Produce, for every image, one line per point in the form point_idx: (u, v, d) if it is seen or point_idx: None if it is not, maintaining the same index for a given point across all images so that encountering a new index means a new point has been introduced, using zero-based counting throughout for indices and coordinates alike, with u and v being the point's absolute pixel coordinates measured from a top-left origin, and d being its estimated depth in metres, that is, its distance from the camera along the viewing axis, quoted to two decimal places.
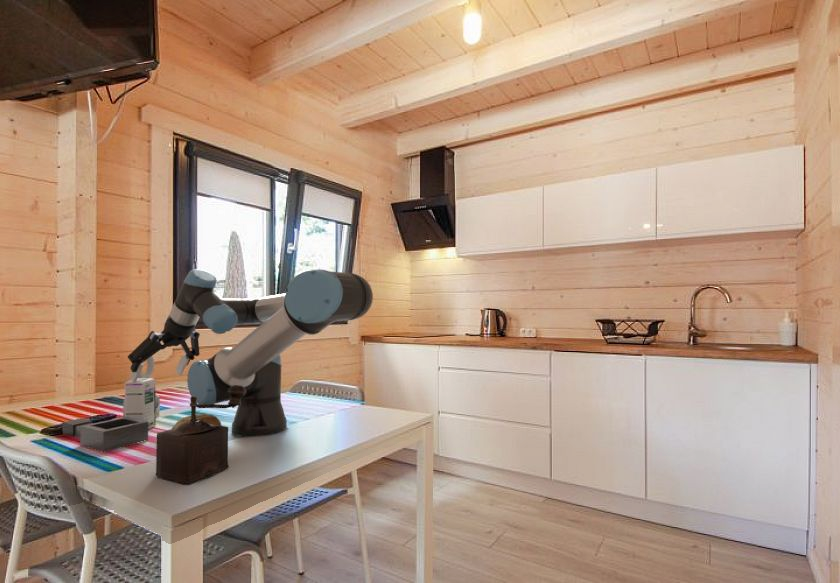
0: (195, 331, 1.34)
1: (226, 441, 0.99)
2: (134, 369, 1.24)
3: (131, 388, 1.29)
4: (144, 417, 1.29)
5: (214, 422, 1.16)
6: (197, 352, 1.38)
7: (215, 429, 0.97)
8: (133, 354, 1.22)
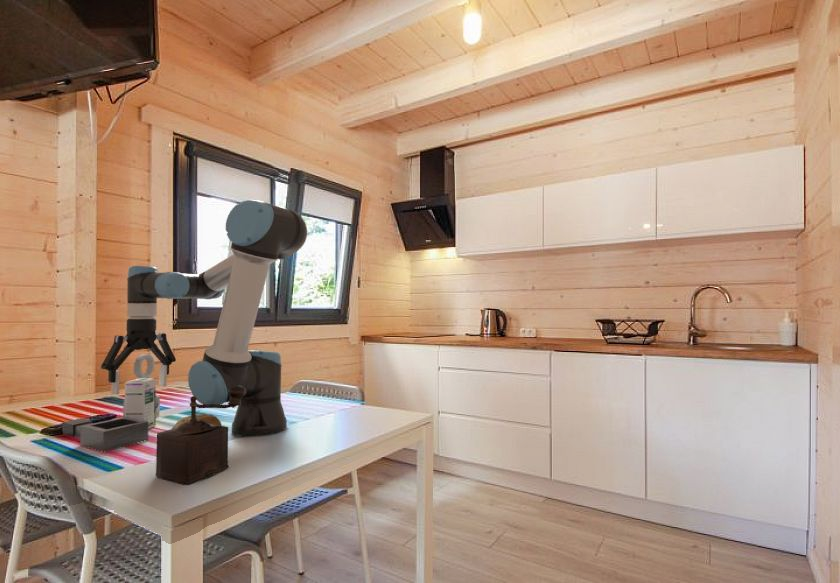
0: (161, 333, 1.37)
1: (226, 441, 0.99)
2: (112, 379, 1.25)
3: (131, 388, 1.29)
4: (144, 417, 1.29)
5: (214, 422, 1.16)
6: (172, 357, 1.40)
7: (215, 429, 0.97)
8: (105, 362, 1.24)
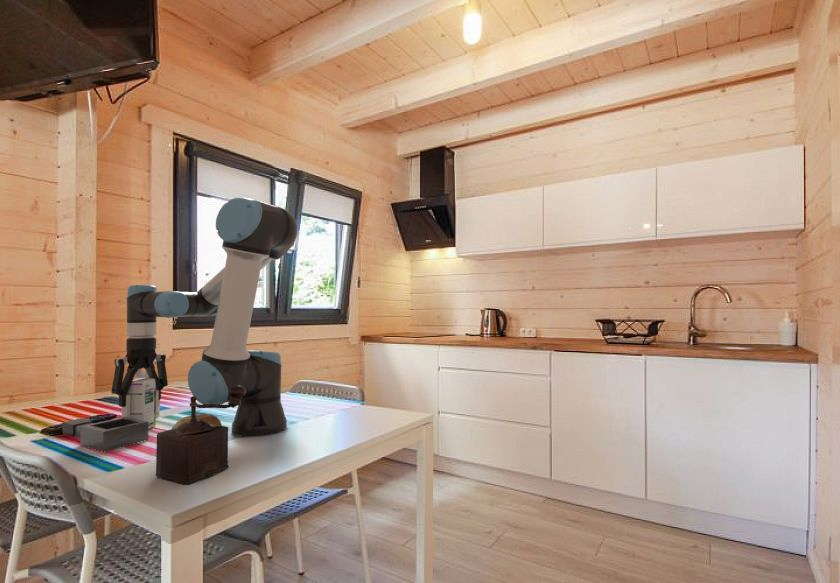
0: (161, 354, 1.37)
1: (226, 441, 0.99)
2: (122, 403, 1.27)
3: (131, 388, 1.29)
4: (144, 417, 1.29)
5: (214, 422, 1.16)
6: (165, 381, 1.37)
7: (215, 429, 0.97)
8: (114, 387, 1.26)
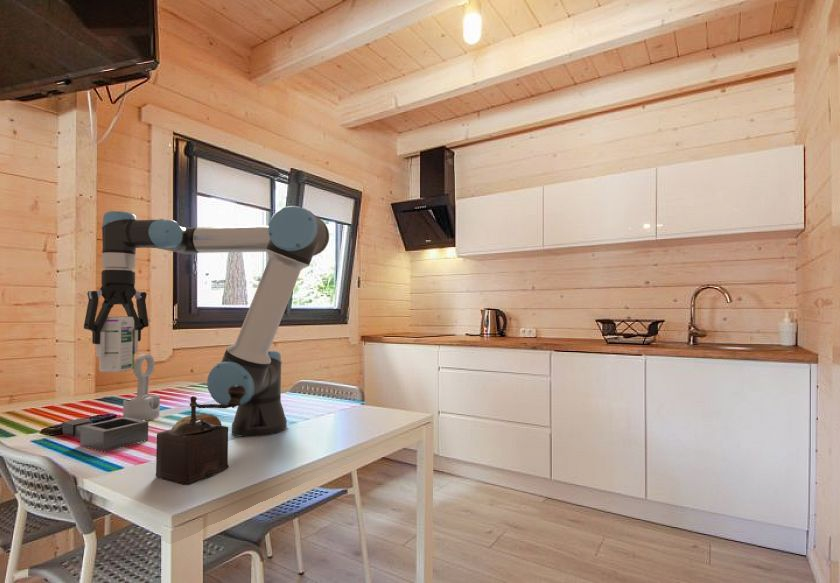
0: (141, 292, 1.25)
1: (226, 441, 0.99)
2: (96, 340, 1.14)
3: (106, 324, 1.17)
4: (120, 357, 1.17)
5: (215, 422, 1.16)
6: (145, 321, 1.25)
7: (215, 429, 0.97)
8: (86, 321, 1.13)
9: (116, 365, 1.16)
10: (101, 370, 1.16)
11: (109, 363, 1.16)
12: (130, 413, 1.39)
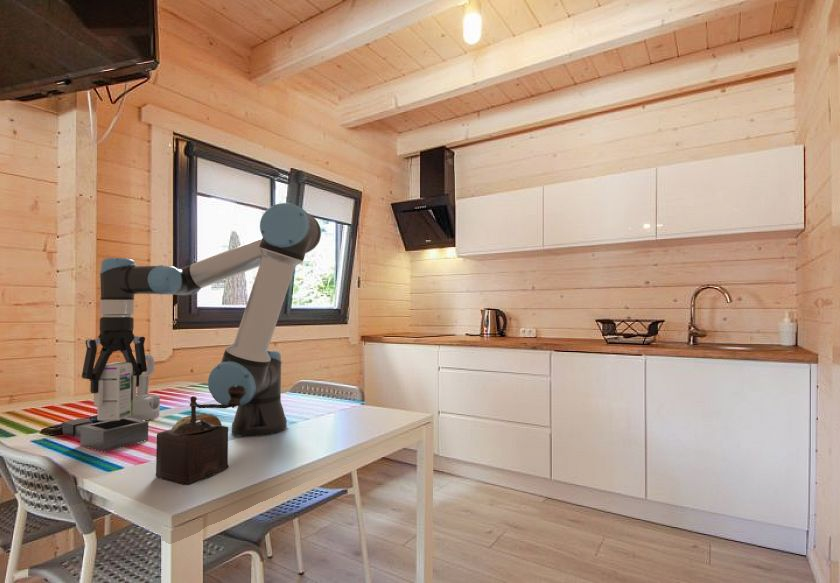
0: (139, 336, 1.24)
1: (226, 441, 0.99)
2: (94, 389, 1.13)
3: (105, 372, 1.16)
4: (118, 405, 1.16)
5: (214, 422, 1.17)
6: (144, 366, 1.24)
7: (215, 429, 0.97)
8: (84, 371, 1.12)
9: (115, 413, 1.16)
10: (100, 419, 1.16)
11: (108, 411, 1.16)
12: None
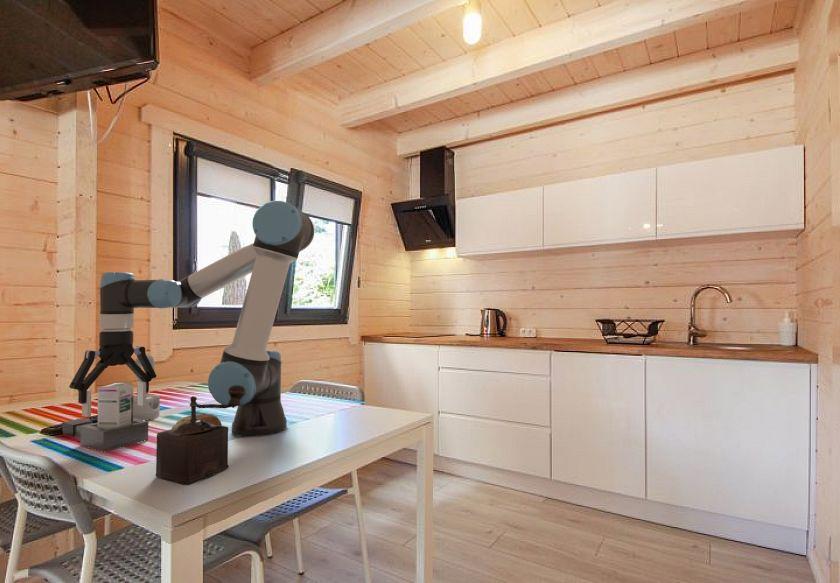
0: (139, 346, 1.24)
1: (226, 441, 0.99)
2: (82, 399, 1.11)
3: (105, 394, 1.15)
4: None
5: (215, 422, 1.17)
6: (152, 373, 1.26)
7: (215, 429, 0.97)
8: (74, 380, 1.10)
9: None
10: None
11: None
12: None
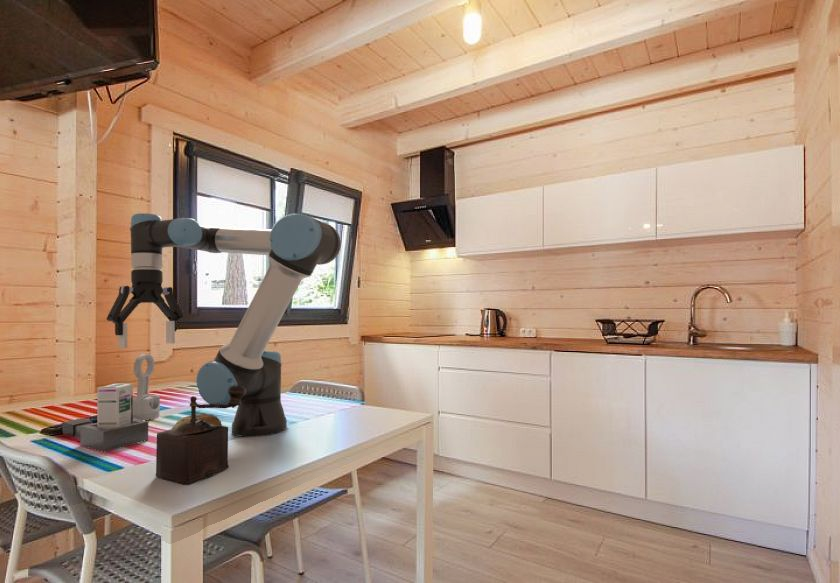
0: (167, 287, 1.30)
1: (226, 441, 0.99)
2: (119, 331, 1.17)
3: (104, 395, 1.16)
4: None
5: (215, 422, 1.17)
6: (180, 313, 1.32)
7: (215, 429, 0.97)
8: (111, 313, 1.16)
9: None
10: None
11: None
12: None
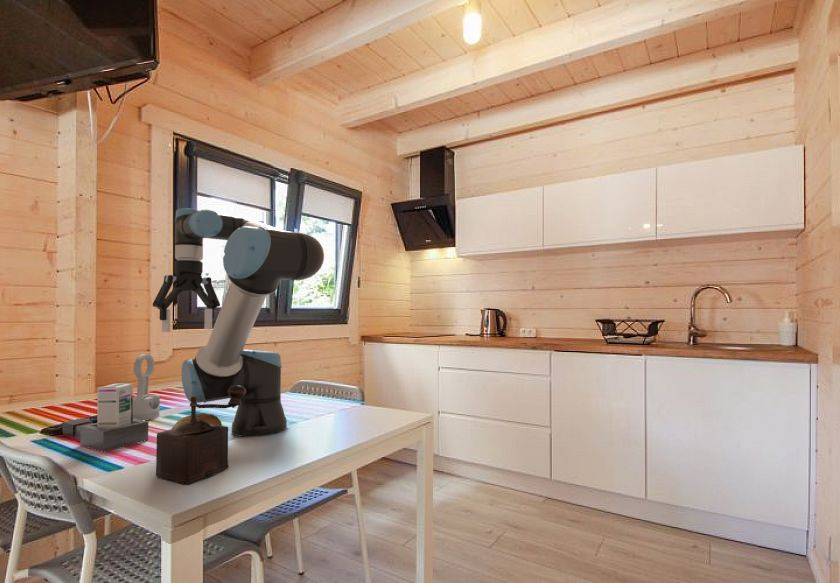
0: (206, 277, 1.40)
1: (226, 441, 0.99)
2: (163, 316, 1.27)
3: (104, 395, 1.16)
4: None
5: (215, 422, 1.17)
6: (217, 301, 1.42)
7: (215, 429, 0.97)
8: (156, 299, 1.27)
9: None
10: None
11: None
12: None
